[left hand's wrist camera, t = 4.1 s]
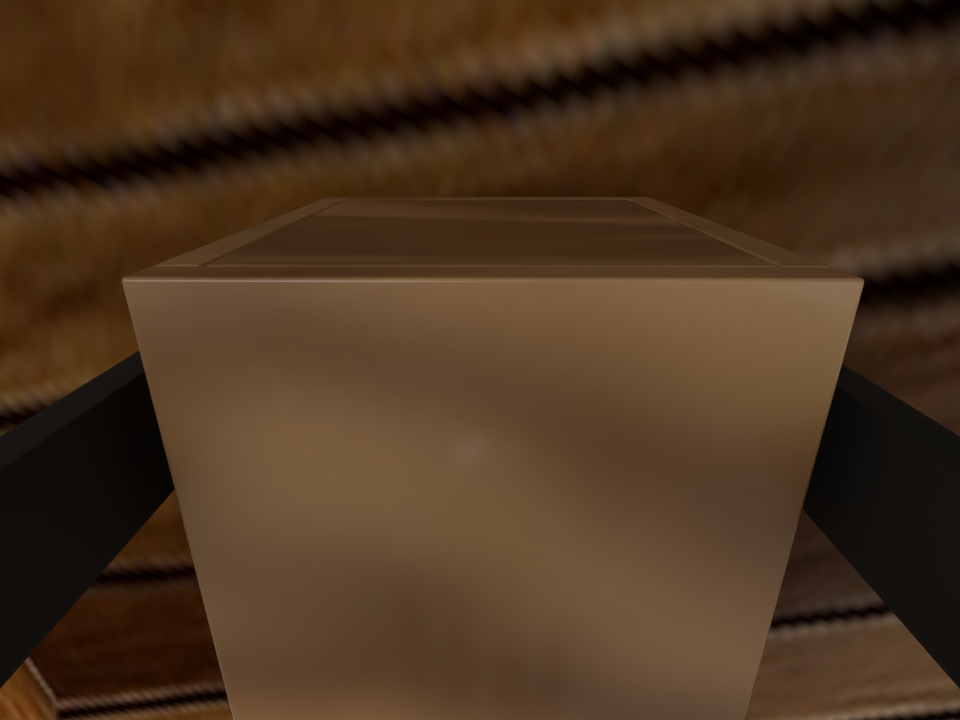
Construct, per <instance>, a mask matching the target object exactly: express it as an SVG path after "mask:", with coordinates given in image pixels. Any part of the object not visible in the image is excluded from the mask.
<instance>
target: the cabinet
mask: <svg viewBox="0 0 960 720" xmlns="http://www.w3.org/2000/svg"><path fill="white" fill-rule="evenodd" d="M122 284H123V288H124V292H125V296H126V300H127V304H128V308H129V311H130V315H131V319H132V323H133V327H134V331H135V335H136V339H137V343H138V347H139V351H140V355H141V359H142V363H143V366H144V370H145V374H146V378H147V382H148V386H149V390H150V394H151V398H152V402H153V406H154V410H155V414H156V417H157V421H158V425H159V429H160V433H161V437H162V441H163V445H164V449H165V453H166V457H167V461H168V465H169V468H170V472H171V476H172V480H173V484H174V488H175V492H176V496H177V500H178V504H179V508H180V512H181V516H182V520H183V523H184V527H185V531H186V535H187V539H188V543H189V547H190V551H191V555H192V559H193V563H194V567H195V571H196V574H197V578H198V582H199V586H200V590H201V594H202V598H203V602H204V606H205V610H206V614H207V618H208V622H209V625H210V629H211V633H212V637H213V641H214V645H215V649H216V653H217V657H218V661H219V665H220V669H221V673H222V676H223V680H224V684H225V688H226V692H227V696H228V700H229V704H230V708H231V712H232V716H233V720H745V716H746V713H747V709H748V705H749V702H750V698H751V694H752V691H753V687H754V683H755V680H756V676H757V672H758V669H759V665H760V662H761V658H762V654H763V651H764V647H765V643H766V640H767V636H768V632H769V629H770V625H771V621H772V618H773V614H774V610H775V607H776V603H777V599H778V596H779V592H780V588H781V585H782V581H783V577H784V574H785V570H786V566H787V563H788V559H789V555H790V552H791V548H792V544H793V541H794V537H795V534H796V530H797V526H798V523H799V519H800V515H801V512H802V508H803V504H804V501H805V497H806V493H807V490H808V486H809V482H810V479H811V475H812V471H813V468H814V464H815V460H816V457H817V453H818V449H819V446H820V442H821V438H822V435H823V431H824V427H825V424H826V420H827V416H828V413H829V409H830V405H831V402H832V398H833V395H834V391H835V387H836V384H837V380H838V376H839V373H840V369H841V365H842V362H843V358H844V354H845V351H846V347H847V343H848V340H849V336H850V332H851V329H852V325H853V321H854V318H855V314H856V310H857V307H858V303H859V299H860V296H861V292H862V288H863V285H864V280H863V279H862V278H859V277H857V276H854V275H852V274H849V273H846V272H844V271H841V270H838V269H836V268H833V267H831V266H829V265H827V264H824V263H821V262H819V261H816V260H813V259H811V258H808V257H805V256H803V255H800V254H797V253H795V252H792V251H790V250H787V249H784V248H782V247H779V246H776V245H774V244H771V243H768V242H766V241H763V240H760V239H758V238H755V237H752V236H750V235H747V234H745V233H742V232H739V231H737V230H734V229H731V228H729V227H726V226H723V225H721V224H718V223H715V222H713V221H710V220H708V219H705V218H702V217H700V216H697V215H694V214H692V213H689V212H686V211H684V210H681V209H678V208H676V207H673V206H671V205H668V204H665V203H663V202H660V201H657V200H655V199H652V198H649V197H326V198H323V199H321V200H319V201H317V202H314V203H311V204H309V205H306V206H304V207H301V208H299V209H296V210H294V211H291V212H289V213H286V214H284V215H281V216H279V217H276V218H274V219H271V220H268V221H266V222H263V223H261V224H258V225H256V226H253V227H251V228H248V229H246V230H243V231H241V232H238V233H236V234H233V235H230V236H228V237H225V238H223V239H220V240H218V241H215V242H213V243H210V244H208V245H205V246H203V247H200V248H198V249H195V250H192V251H190V252H187V253H185V254H182V255H180V256H177V257H175V258H172V259H170V260H167V261H165V262H162V263H160V264H157V265H155V266H151V267H148V268H146V269H143V270H141V271H138V272H136V273H133V274H131V275H128V276H126V277H123V279H122Z"/></svg>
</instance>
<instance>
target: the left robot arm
mask: <svg viewBox="0 0 960 720" xmlns="http://www.w3.org/2000/svg"><path fill="white" fill-rule="evenodd" d="M174 489H175V488H174V484H173V480H172V476H171V472H170V468H169V465H168V461H167V457H166V453H165V449H164V445H163V441H162V437H161V433H160V429H159V425H158V421H157V417H156V414H155V410H154V406H153V402H152V398H151V394H150V390H149V386H148V382H147V378H146V374H145V370H144V366H143V363H142V359H141V355H140V351H138V352H136V353H135V354H133V355H131V356H130V357H128V358H126V359H125V360H123V361H122V362H120V363H118V364H117V365H115V366H114V367H112V368H110V369H109V370H107V371H105V372H104V373H102V374H101V375H99V376H97V377H96V378H94V379H93V380H91V381H89V382H88V383H86V384H84V385H83V386H81V387H80V388H78V389H76V390H75V391H73V392H72V393H70V394H68V395H67V396H65V397H63V398H62V399H60V400H59V401H57V402H55V403H54V404H52V405H51V406H49V407H47V408H46V409H44V410H42V411H41V412H39V413H38V414H36V415H34V416H33V417H31V418H30V419H28V420H26V421H25V422H23V423H21V424H20V425H18V426H17V427H15V428H13V429H12V430H10V431H9V432H7V433H5V434H4V435H2V436H0V688H1V687H2V686H3V685H4V684H5V683H6V681H7V680H8V679H9V678H10V677H11V676H12V675H13V673H14V672H15V671H16V670H17V669H18V668H19V667H20V665H21V664H22V663H23V662H24V661H25V660H26V659H27V657H28V656H29V655H30V654H31V653H32V652H33V651H34V649H35V648H36V647H37V646H38V645H39V644H40V643H41V641H42V640H43V639H44V638H45V637H46V636H47V635H48V633H49V632H50V631H51V630H52V629H53V628H54V627H55V625H56V624H57V623H58V622H59V621H60V620H61V619H62V617H63V616H64V615H65V614H66V613H67V612H68V611H69V609H70V608H71V607H72V606H73V605H74V604H75V603H76V601H77V600H78V599H79V598H80V597H81V596H82V595H83V593H84V592H85V591H86V590H87V589H88V588H89V586H90V585H91V584H92V583H93V582H94V581H95V580H96V578H97V577H98V576H99V575H100V574H101V573H102V572H103V570H104V569H105V568H106V567H107V566H108V565H109V564H110V562H111V561H112V560H113V559H114V558H115V557H116V556H117V554H118V553H119V552H120V551H121V550H122V549H123V548H124V546H125V545H126V544H127V543H128V542H129V541H130V540H131V538H132V537H133V536H134V535H135V534H136V533H137V532H138V530H139V529H140V528H141V527H142V526H143V525H144V524H145V522H146V521H147V520H148V519H149V518H150V517H151V516H152V514H153V513H154V512H155V511H156V510H157V509H158V508H159V506H160V505H161V504H162V503H163V502H164V501H165V500H166V498H167V497H168V496H169V495H170V494H171V493H172V492H173V490H174ZM802 509H803V510H804V511H805V512H806V513H807V514H808V516H809V517H810V518H811V519H812V520H813V521H814V522H815V524H816V525H817V526H818V527H819V528H820V529H821V530H822V532H823V533H824V534H825V535H826V536H827V537H828V538H829V540H830V541H831V542H832V543H833V544H834V545H835V546H836V548H837V549H838V550H839V551H840V552H841V553H842V554H843V556H844V557H845V558H846V559H847V560H848V561H849V562H850V564H851V565H852V566H853V567H854V568H855V569H856V570H857V572H858V573H859V574H860V575H861V576H862V577H863V578H864V580H865V581H866V582H867V583H868V584H869V585H870V586H871V588H872V589H873V590H874V591H875V592H876V593H877V595H878V596H879V597H880V598H881V599H882V600H883V601H884V603H885V604H886V605H887V606H888V607H889V608H890V609H891V611H892V612H893V613H894V614H895V615H896V616H897V617H898V619H899V620H900V621H901V622H902V623H903V624H904V625H905V627H906V628H907V629H908V630H909V631H910V632H911V633H912V635H913V636H914V637H915V638H916V639H917V640H918V641H919V643H920V644H921V645H922V646H923V647H924V648H925V649H926V651H927V652H928V653H929V654H930V655H931V656H932V657H933V659H934V660H935V661H936V662H937V663H938V664H939V665H940V667H941V668H942V669H943V670H944V671H945V672H946V673H947V675H948V676H949V677H950V678H951V679H952V680H953V681H954V683H955V684H956V685H957V686H958V687H959V688H960V436H958V435H956V434H955V433H953V432H951V431H950V430H948V429H947V428H945V427H943V426H942V425H940V424H939V423H937V422H935V421H934V420H932V419H930V418H929V417H927V416H926V415H924V414H922V413H921V412H919V411H918V410H916V409H914V408H913V407H911V406H909V405H908V404H906V403H905V402H903V401H901V400H900V399H898V398H897V397H895V396H893V395H892V394H890V393H888V392H887V391H885V390H884V389H882V388H880V387H879V386H877V385H876V384H874V383H872V382H871V381H869V380H867V379H866V378H864V377H863V376H861V375H859V374H858V373H856V372H855V371H853V370H851V369H850V368H848V367H846V366H845V365H843V364H842V365H841V369H840V373H839V376H838V380H837V384H836V387H835V391H834V395H833V398H832V402H831V405H830V409H829V413H828V416H827V420H826V424H825V427H824V431H823V435H822V438H821V442H820V446H819V449H818V453H817V457H816V460H815V464H814V468H813V471H812V475H811V479H810V482H809V486H808V490H807V493H806V497H805V501H804V504H803V508H802Z"/></svg>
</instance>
